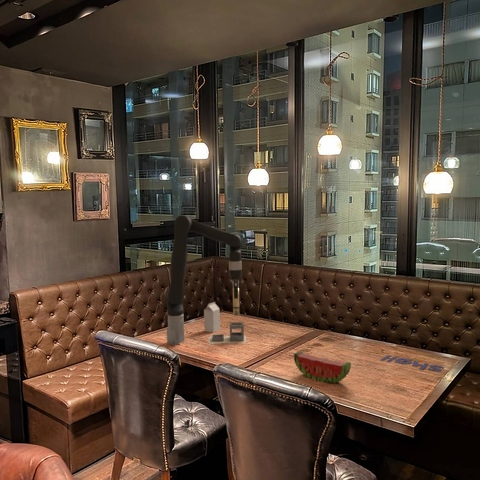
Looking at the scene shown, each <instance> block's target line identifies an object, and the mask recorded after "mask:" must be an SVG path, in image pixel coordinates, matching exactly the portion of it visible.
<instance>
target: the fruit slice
mask: <svg viewBox="0 0 480 480" xmlns="http://www.w3.org/2000/svg"><path fill="white" fill-rule="evenodd" d="M293 360H294V364H295V366H296V368H297V369H298V370H299V372H301V374H303V375H305V376H306V377H308V378H310V379H311V378H312V380H314V379H316V380H315V381H318V380H319V381H318V382H322V381H323V383H329V384H330V383H338V382H341V381H342V380H344V379H345V378H346V377H347V375H348V374H349V373H350V370H351V368H352V364H351V362H347V361H346V362H343V361H342V362H341V361H337V360H331V359H328V358H325V357H319V356H315V355H313V354H308V353H304V352H303V351H301V350H299V351H296V352H295V353H293Z"/></svg>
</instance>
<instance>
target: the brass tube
mask: <svg viewBox="0 0 480 480" xmlns="http://www.w3.org/2000/svg"><path fill="white" fill-rule="evenodd" d="M235 290H237V288H235ZM232 308H233V309H232V311H233V314H232V315H233V316H240V288H238V299H234V288H233V287H232Z"/></svg>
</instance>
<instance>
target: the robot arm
mask: <svg viewBox="0 0 480 480" xmlns="http://www.w3.org/2000/svg"><path fill="white" fill-rule="evenodd" d="M173 226H174V233H173V234H174V237H173V238H174V240H173V244H172V250H171V257H170V285H169V288H168V289H167V291H166V310H167V327H166V344H168V345H170V346H180V344H182V343H183V342H184V341H185V320H184V318H185V316H184V313H185V312H184V303H183V302H184V301H183V300H184V293H185V292H184V291H185V290H184V285H185V284H184V281H185V275H186V271H187V266H188V265H187V263H188V253H189V251H188V235H189V232H192V233H195V234H199V235H201V236H203V237H205V238H208V239H210V240H213V241H215V242H220V243H223V244H225V245H227V246H229V253H228V254H229V255H228V256H229V257H228V259H229V260H228V261H229V263H228V276H229V278H233V279H232V280H231V282H232V289H233V288H234V299H238V288H239V287H240V285H239V284H240V279H239V278H241V277H243V264H242V263H243V261H242V253H241V252H242V237H241V236H240V235H239V234H238V233H232V232H231V233H230V232H228V231H225V230H223V229H221V228H219V227H215V226H213V225H212V226H211V225H207V224H204V223H201V222H198V221H197V220H195V219H192V218H191V217H189V216H188V215H183V214H181V215H179V216H177V217H176V218H175V219H174V225H173ZM235 288H237V290H235ZM239 289H240V288H239Z"/></svg>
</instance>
